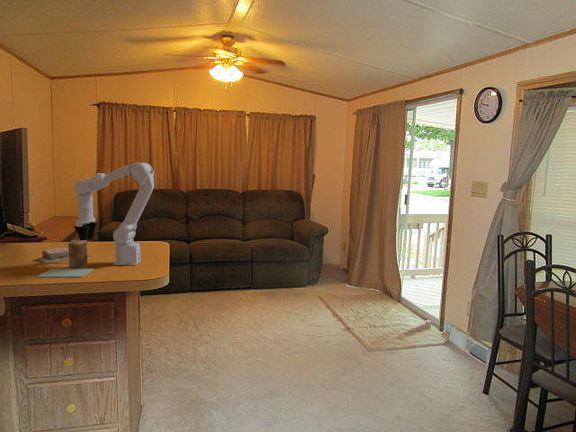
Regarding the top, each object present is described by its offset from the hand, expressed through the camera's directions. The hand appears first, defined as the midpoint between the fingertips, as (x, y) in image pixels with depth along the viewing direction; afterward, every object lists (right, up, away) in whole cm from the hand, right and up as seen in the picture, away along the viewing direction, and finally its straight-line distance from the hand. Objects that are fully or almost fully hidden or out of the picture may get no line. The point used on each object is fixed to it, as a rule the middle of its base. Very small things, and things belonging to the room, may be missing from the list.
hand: (86, 241), depth 172 cm
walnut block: (+1, -11, -8) cm, 13 cm away
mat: (0, -12, -16) cm, 20 cm away
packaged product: (-15, -9, +9) cm, 19 cm away
